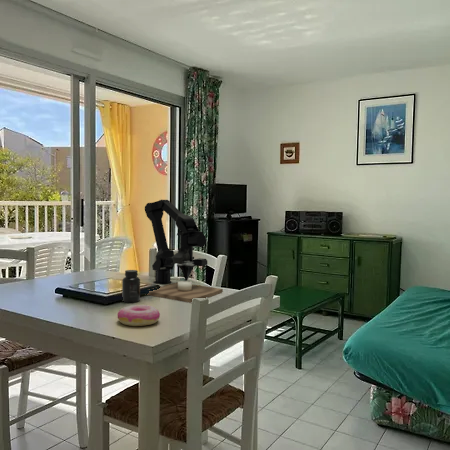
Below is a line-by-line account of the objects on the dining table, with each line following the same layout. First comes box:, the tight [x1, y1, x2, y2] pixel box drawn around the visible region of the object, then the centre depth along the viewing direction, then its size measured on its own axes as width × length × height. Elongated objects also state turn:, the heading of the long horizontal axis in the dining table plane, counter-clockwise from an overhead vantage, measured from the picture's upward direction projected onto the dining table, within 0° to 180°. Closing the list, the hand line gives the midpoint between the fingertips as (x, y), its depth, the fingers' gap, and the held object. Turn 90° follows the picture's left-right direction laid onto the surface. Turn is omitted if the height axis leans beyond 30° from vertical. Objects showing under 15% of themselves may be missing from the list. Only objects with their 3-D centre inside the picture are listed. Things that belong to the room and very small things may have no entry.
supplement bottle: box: [121, 269, 141, 304], centre depth 177 cm, size 7×7×12 cm
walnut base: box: [147, 281, 224, 304], centre depth 194 cm, size 24×24×2 cm
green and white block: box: [177, 277, 193, 291], centre depth 197 cm, size 13×6×3 cm, turn 12°
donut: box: [117, 304, 161, 327], centre depth 150 cm, size 14×13×5 cm
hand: (186, 280), depth 202 cm, fingers closed
